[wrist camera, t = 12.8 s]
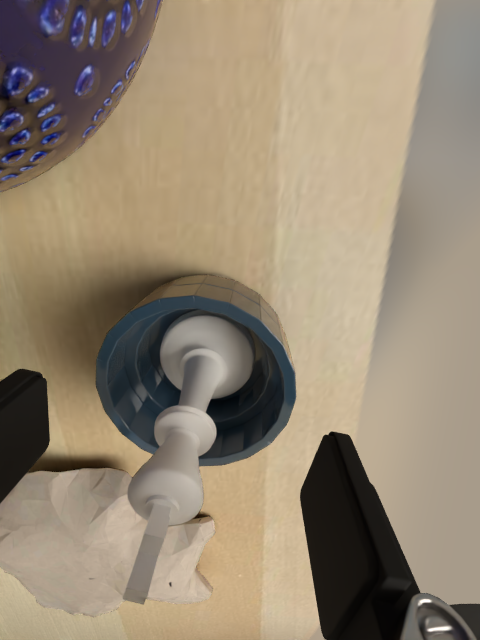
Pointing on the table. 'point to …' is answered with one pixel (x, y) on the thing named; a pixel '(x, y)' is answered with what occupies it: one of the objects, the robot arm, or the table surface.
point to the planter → (63, 75)
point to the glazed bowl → (159, 393)
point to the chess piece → (185, 429)
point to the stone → (93, 543)
